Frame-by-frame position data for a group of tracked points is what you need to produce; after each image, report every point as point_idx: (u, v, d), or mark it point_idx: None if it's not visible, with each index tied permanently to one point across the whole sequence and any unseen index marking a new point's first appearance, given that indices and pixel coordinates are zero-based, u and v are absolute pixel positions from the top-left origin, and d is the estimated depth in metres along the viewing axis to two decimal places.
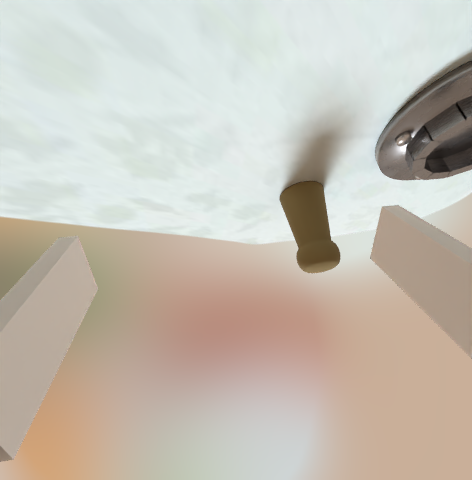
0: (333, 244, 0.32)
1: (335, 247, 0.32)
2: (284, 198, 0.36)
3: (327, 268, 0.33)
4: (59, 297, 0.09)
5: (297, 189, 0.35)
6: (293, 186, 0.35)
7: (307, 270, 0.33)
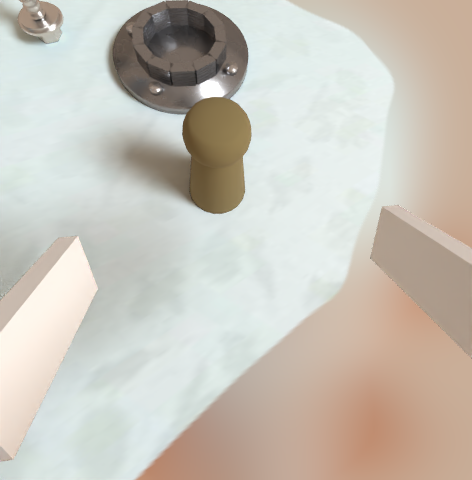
0: None
1: None
2: (198, 202, 0.28)
3: (215, 108, 0.19)
4: (59, 297, 0.09)
5: None
6: None
7: (209, 138, 0.19)
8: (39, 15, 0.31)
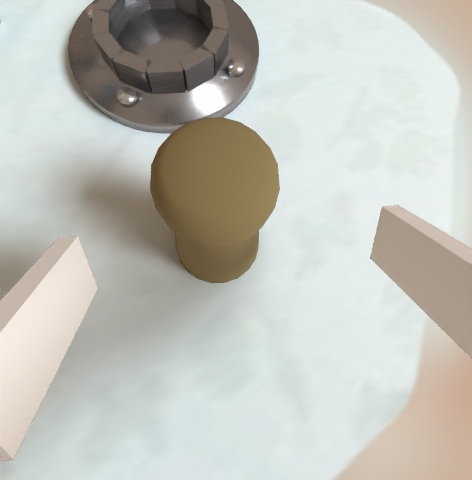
0: None
1: None
2: (189, 269, 0.19)
3: (212, 143, 0.10)
4: (59, 297, 0.09)
5: None
6: None
7: (201, 205, 0.09)
8: None
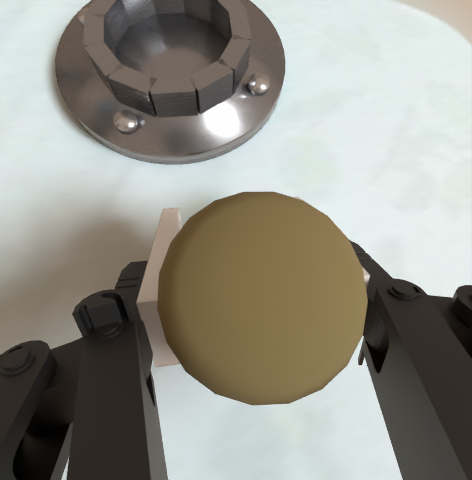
0: None
1: None
2: None
3: (265, 248, 0.06)
4: None
5: None
6: None
7: (248, 368, 0.05)
8: None
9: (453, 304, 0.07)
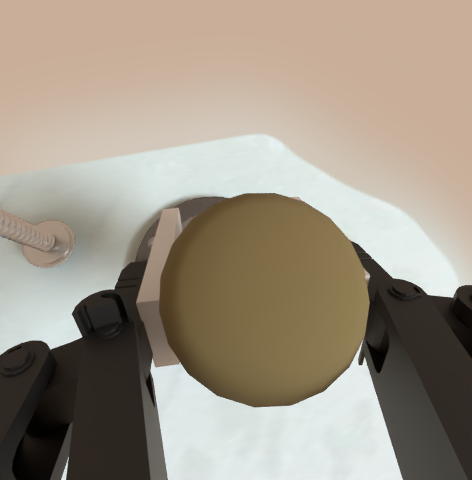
0: None
1: None
2: None
3: (267, 250, 0.06)
4: None
5: None
6: None
7: (250, 370, 0.05)
8: (48, 247, 0.26)
9: (453, 304, 0.07)
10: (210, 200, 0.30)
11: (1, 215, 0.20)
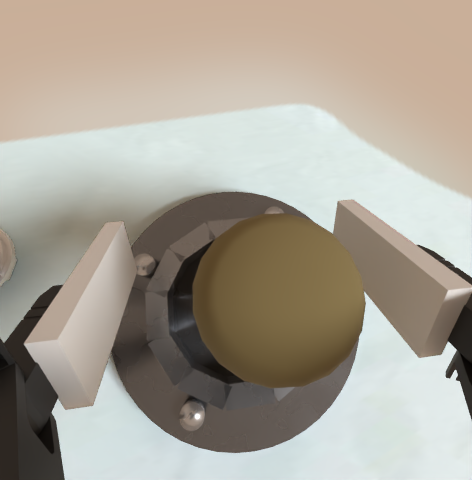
0: None
1: None
2: None
3: (283, 263, 0.07)
4: (114, 273, 0.10)
5: None
6: None
7: (272, 358, 0.07)
8: None
9: None
10: (232, 197, 0.20)
11: None
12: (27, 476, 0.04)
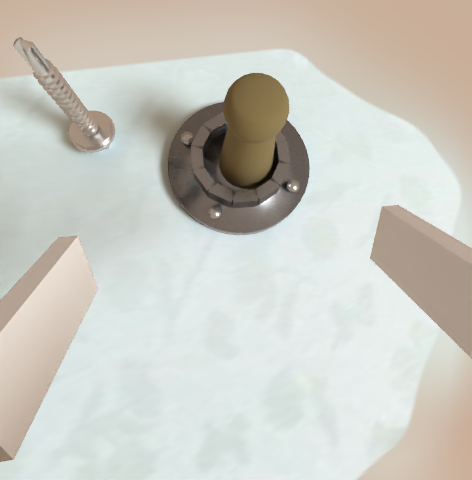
0: None
1: None
2: (229, 177, 0.29)
3: (257, 85, 0.20)
4: (59, 297, 0.09)
5: (220, 161, 0.30)
6: (219, 166, 0.30)
7: (252, 114, 0.20)
8: (92, 131, 0.29)
9: None
10: None
11: (62, 78, 0.23)
12: None
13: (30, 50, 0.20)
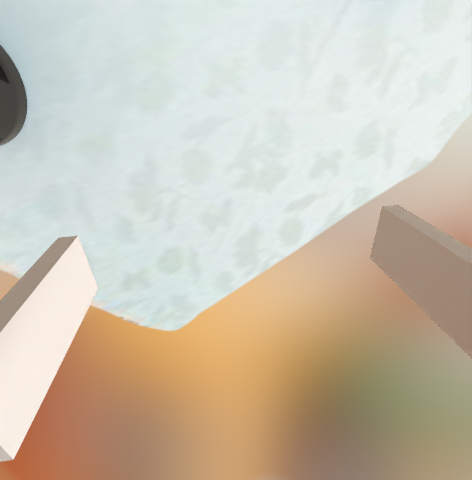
0: None
1: None
2: None
3: None
4: (59, 297, 0.09)
5: None
6: None
7: None
8: None
9: None
10: None
11: None
12: None
13: None
